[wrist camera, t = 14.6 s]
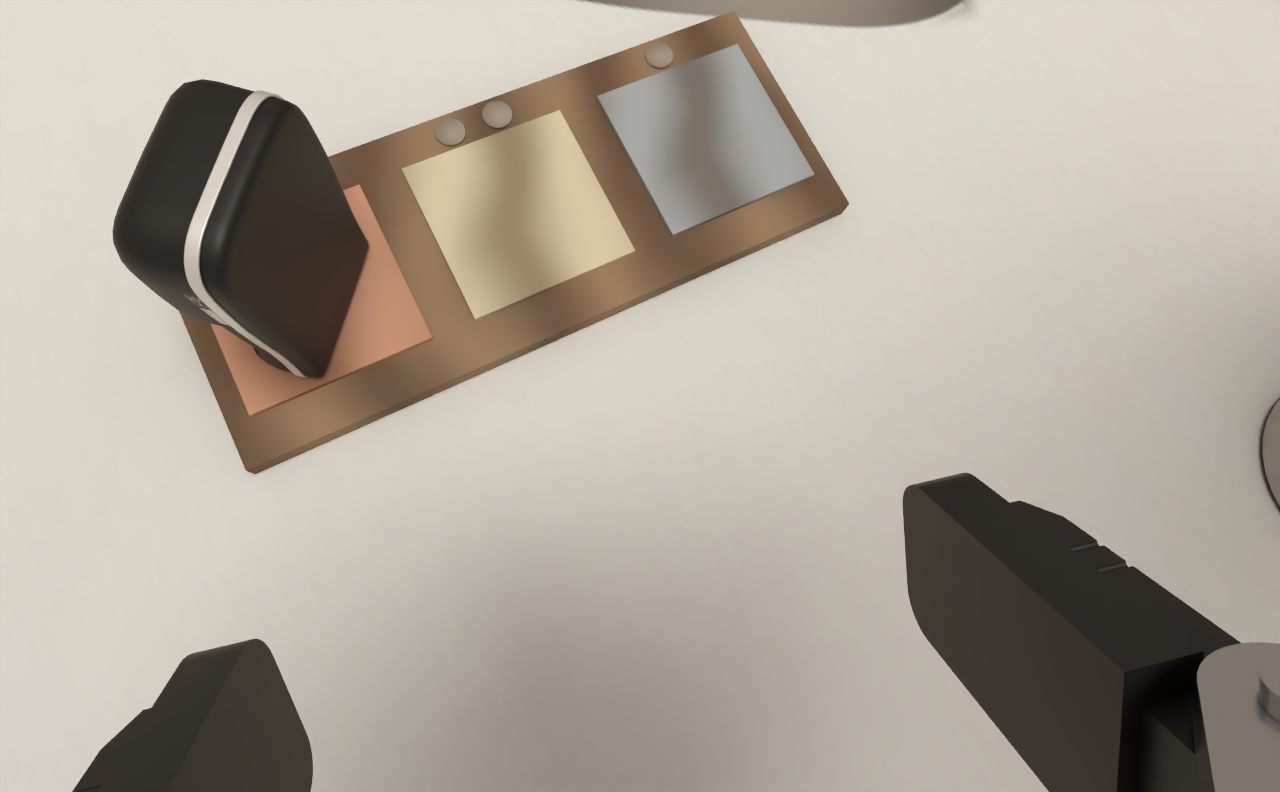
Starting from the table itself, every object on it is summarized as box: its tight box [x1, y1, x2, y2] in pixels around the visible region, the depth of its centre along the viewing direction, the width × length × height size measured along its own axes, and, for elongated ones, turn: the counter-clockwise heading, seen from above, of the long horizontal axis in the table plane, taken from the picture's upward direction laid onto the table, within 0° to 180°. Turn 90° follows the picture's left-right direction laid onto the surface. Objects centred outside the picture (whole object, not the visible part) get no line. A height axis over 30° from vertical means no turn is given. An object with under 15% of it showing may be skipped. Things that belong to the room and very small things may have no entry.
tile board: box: [180, 11, 849, 474], centre depth 35 cm, size 30×12×1 cm, turn 117°
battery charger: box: [113, 79, 369, 378], centre depth 27 cm, size 7×4×11 cm, turn 167°
